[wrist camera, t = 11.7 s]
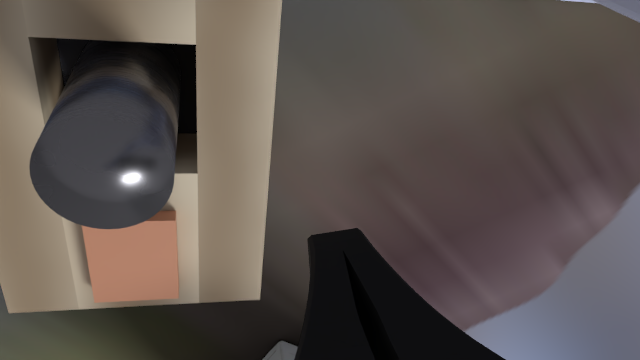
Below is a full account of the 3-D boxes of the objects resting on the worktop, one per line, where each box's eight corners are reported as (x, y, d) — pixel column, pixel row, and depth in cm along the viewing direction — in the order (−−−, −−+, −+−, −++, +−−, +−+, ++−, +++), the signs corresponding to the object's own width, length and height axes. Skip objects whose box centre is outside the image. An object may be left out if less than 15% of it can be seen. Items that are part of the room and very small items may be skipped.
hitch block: (271, -26, 19) (282, -2, 16) (254, 254, 26) (259, 299, 23) (-48, -50, 17) (-90, -27, 14) (28, 262, 24) (8, 313, 21)
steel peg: (181, 29, 19) (173, 118, 14) (181, 118, 21) (174, 228, 16) (74, 21, 19) (18, 112, 13) (84, 114, 20) (40, 229, 15)
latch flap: (176, 210, 20) (175, 220, 19) (179, 287, 22) (178, 298, 22) (84, 212, 19) (81, 222, 19) (96, 291, 21) (94, 302, 21)
